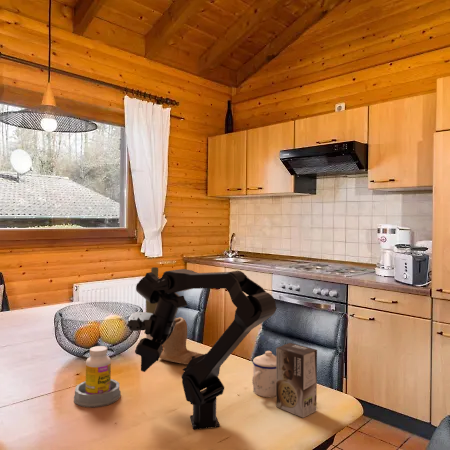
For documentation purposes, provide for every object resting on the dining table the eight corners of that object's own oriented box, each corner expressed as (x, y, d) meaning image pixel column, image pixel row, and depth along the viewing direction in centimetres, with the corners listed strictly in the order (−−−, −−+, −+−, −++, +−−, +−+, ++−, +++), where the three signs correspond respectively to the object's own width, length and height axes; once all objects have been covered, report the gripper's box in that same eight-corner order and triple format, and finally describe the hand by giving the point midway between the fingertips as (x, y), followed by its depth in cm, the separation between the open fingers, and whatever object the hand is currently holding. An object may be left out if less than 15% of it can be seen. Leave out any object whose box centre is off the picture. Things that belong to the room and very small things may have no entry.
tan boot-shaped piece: (150, 361, 146) (150, 318, 146) (173, 352, 156) (174, 312, 156) (182, 371, 137) (182, 325, 137) (205, 361, 147) (205, 318, 147)
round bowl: (119, 405, 112) (119, 394, 112) (70, 409, 110) (70, 397, 109) (121, 386, 124) (121, 376, 124) (77, 389, 122) (77, 379, 122)
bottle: (152, 339, 172) (152, 266, 172) (166, 341, 169) (167, 267, 169) (141, 343, 166) (142, 268, 166) (156, 346, 163) (157, 269, 162)
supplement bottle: (97, 401, 112) (97, 353, 112) (80, 396, 116) (80, 349, 115) (115, 393, 118) (115, 347, 118) (99, 387, 121) (99, 343, 121)
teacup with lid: (263, 382, 129) (264, 344, 128) (289, 390, 123) (290, 351, 123) (240, 395, 119) (240, 354, 119) (267, 404, 114) (267, 361, 113)
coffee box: (317, 410, 110) (318, 349, 110) (303, 418, 106) (304, 355, 106) (289, 399, 117) (290, 341, 117) (274, 406, 112) (275, 346, 112)
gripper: (147, 288, 120) (131, 334, 124) (124, 317, 102) (107, 370, 106) (183, 302, 120) (166, 348, 124) (167, 334, 102) (148, 386, 106)
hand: (147, 361), depth 115 cm, fingers open, 9 cm apart
